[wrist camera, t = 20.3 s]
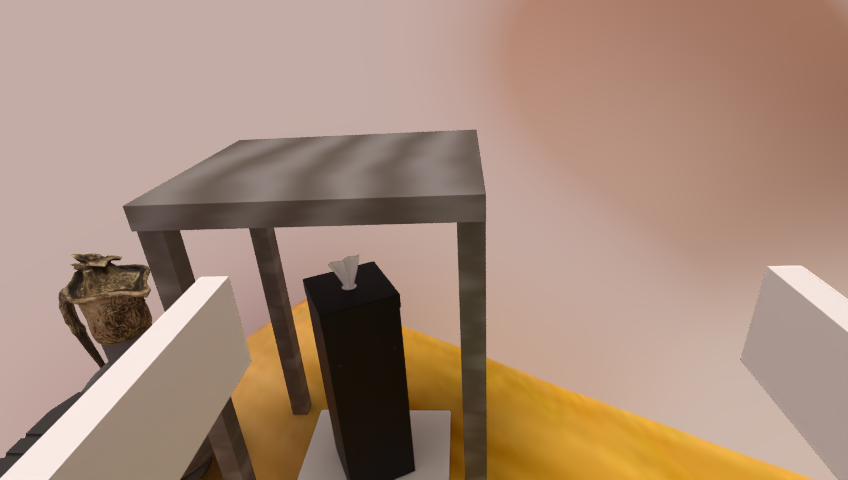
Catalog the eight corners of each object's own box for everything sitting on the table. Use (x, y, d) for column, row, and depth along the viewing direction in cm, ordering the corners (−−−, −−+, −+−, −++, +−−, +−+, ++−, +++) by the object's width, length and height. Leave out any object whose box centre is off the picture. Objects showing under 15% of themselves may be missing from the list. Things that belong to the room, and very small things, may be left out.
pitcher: (186, 530, 51) (85, 296, 39) (83, 469, 59) (-28, 259, 47) (258, 454, 60) (195, 242, 47) (160, 410, 68) (84, 219, 55)
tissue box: (335, 448, 60) (296, 250, 48) (393, 425, 62) (370, 233, 51) (352, 499, 53) (313, 285, 41) (416, 471, 56) (397, 263, 44)
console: (479, 402, 66) (476, 129, 50) (487, 547, 48) (485, 194, 32) (298, 401, 68) (239, 140, 52) (241, 539, 50) (122, 206, 34)
